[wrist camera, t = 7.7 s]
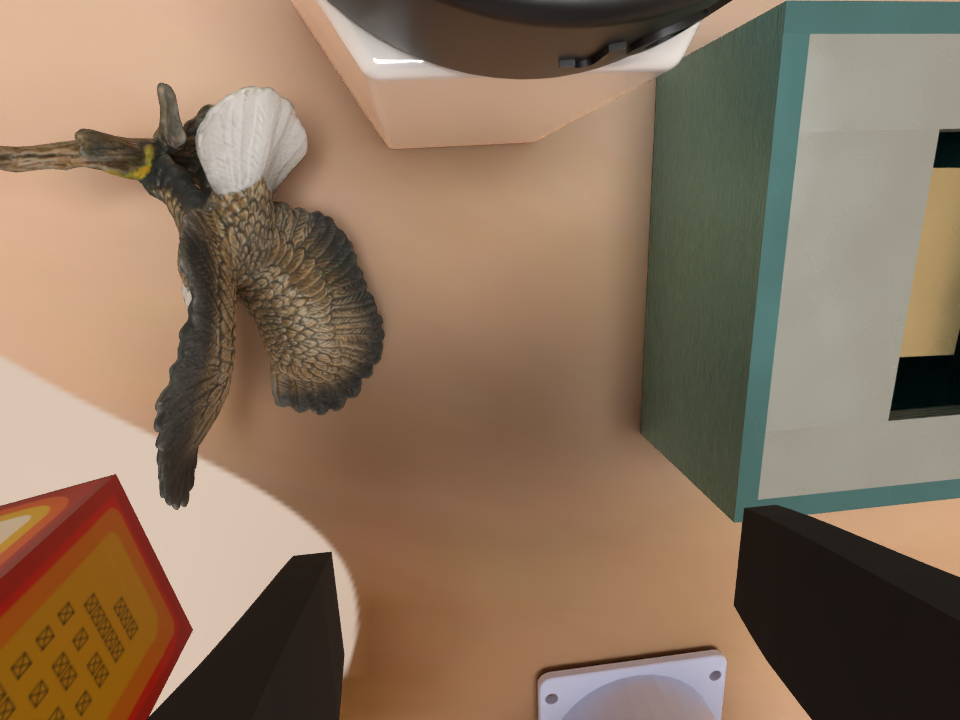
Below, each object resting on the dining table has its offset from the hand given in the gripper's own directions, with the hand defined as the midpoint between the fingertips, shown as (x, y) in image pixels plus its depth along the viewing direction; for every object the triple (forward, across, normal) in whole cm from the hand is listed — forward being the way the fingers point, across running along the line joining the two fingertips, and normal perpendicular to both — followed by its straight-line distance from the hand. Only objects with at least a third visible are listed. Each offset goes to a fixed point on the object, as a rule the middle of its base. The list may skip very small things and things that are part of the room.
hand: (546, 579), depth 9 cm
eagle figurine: (+10, +7, -4) cm, 13 cm away
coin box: (+10, -12, -4) cm, 16 cm away
